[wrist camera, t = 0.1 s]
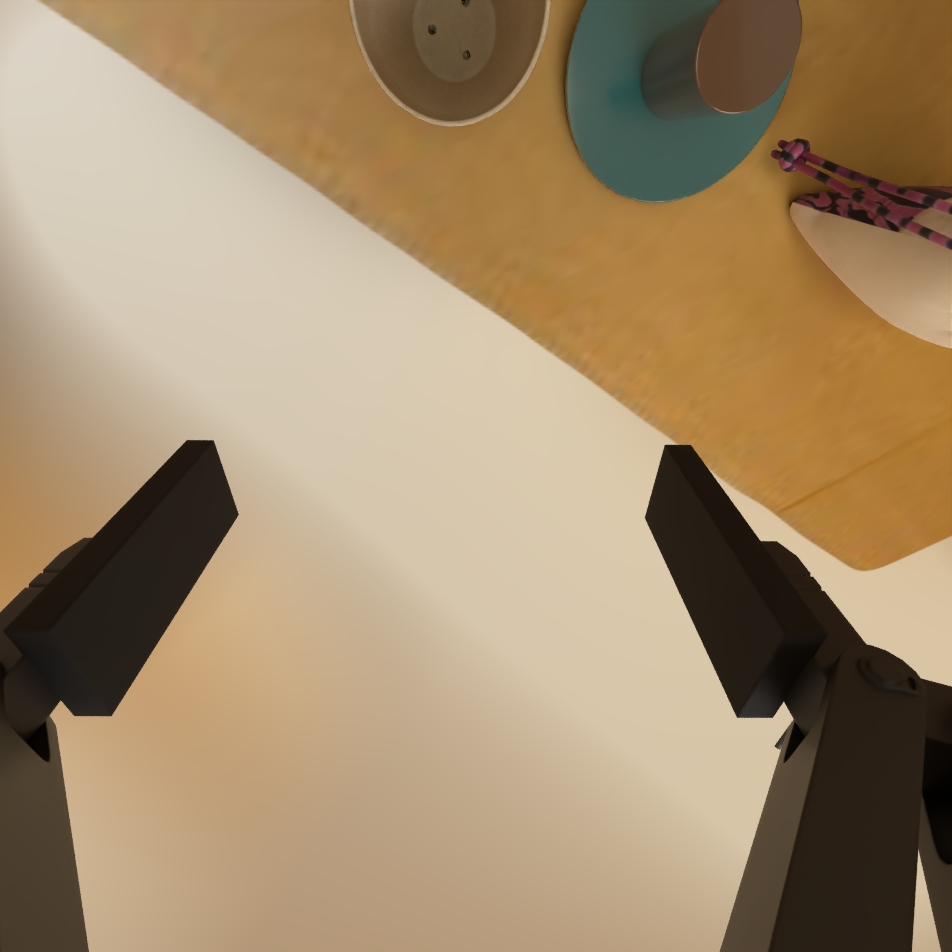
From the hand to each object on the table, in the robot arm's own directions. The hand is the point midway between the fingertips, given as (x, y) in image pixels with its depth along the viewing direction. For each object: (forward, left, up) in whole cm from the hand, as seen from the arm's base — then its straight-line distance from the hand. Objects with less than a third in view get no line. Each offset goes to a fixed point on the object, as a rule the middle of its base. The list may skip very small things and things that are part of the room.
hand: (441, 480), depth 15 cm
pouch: (-2, +32, -28) cm, 42 cm away
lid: (-12, +14, -27) cm, 33 cm away
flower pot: (-14, 0, -28) cm, 32 cm away
